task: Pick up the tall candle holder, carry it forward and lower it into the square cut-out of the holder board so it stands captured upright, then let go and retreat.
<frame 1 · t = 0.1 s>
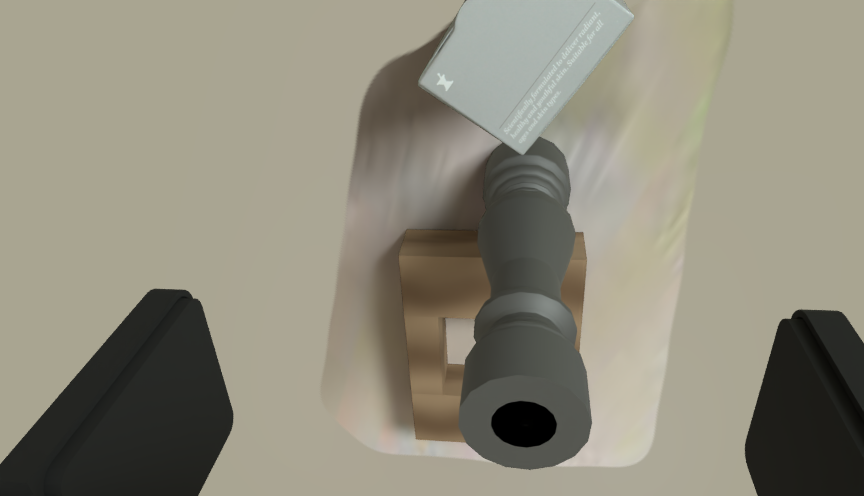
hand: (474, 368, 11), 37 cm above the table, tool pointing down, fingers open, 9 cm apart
candle holder: (526, 172, 49), on the table
holder board: (493, 329, 57), on the table
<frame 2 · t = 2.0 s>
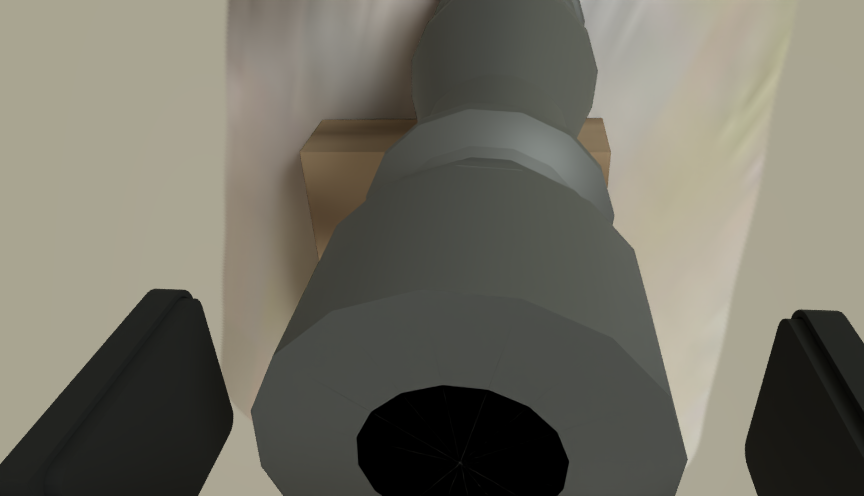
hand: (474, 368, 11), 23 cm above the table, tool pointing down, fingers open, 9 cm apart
candle holder: (509, 12, 30), on the table
holder board: (464, 282, 38), on the table
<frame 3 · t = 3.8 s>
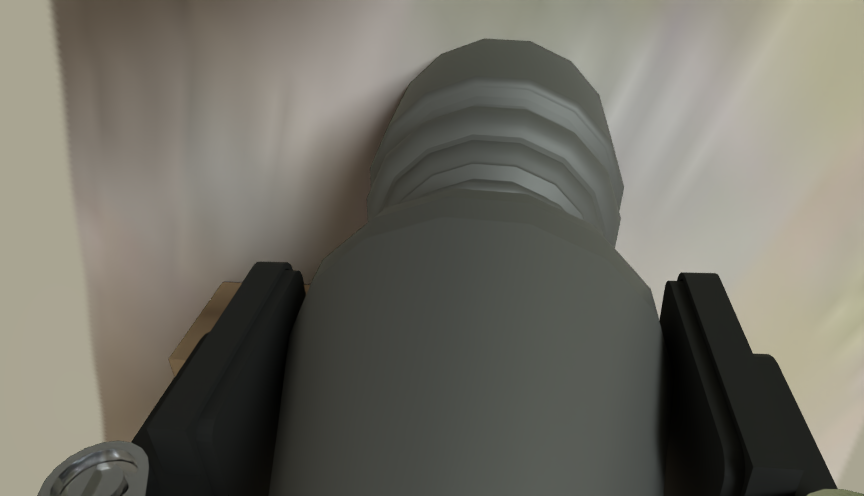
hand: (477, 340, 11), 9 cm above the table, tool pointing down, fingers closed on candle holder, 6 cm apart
candle holder: (498, 145, 19), on the table, touching gripper
holder board: (437, 487, 27), on the table
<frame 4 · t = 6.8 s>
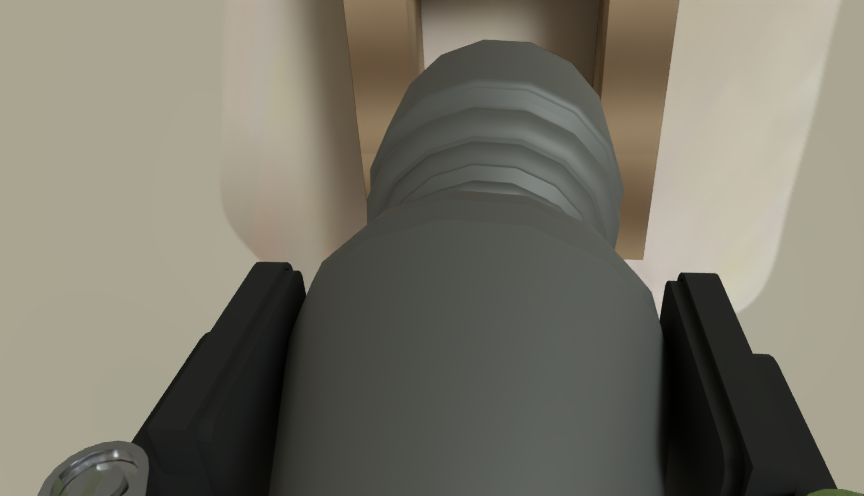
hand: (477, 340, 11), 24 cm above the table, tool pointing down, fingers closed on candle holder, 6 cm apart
candle holder: (498, 146, 19), point 15 cm above the table, touching gripper
holder board: (508, 41, 32), on the table
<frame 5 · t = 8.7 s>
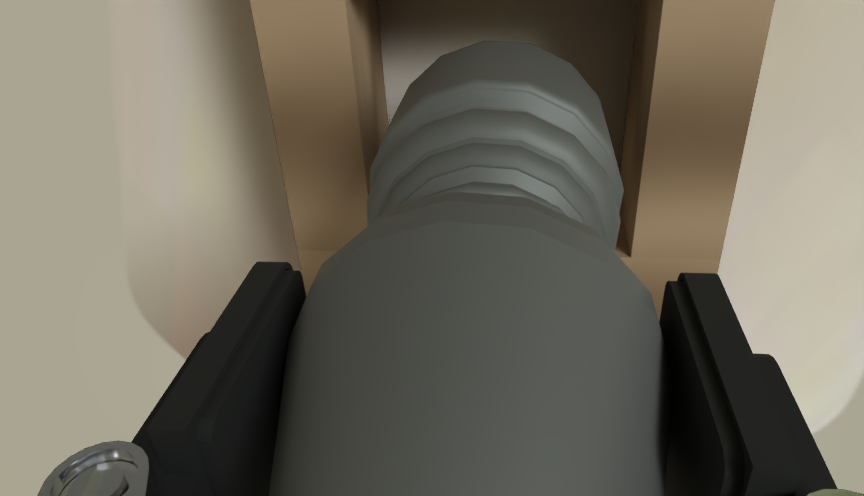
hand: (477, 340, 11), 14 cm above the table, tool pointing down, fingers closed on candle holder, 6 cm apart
candle holder: (498, 147, 19), point 5 cm above the table, touching gripper
holder board: (503, 91, 23), on the table
when the fingers open (10 cm above the table, at t = 10.0 s): candle holder drops 1 cm, resting in holder board.
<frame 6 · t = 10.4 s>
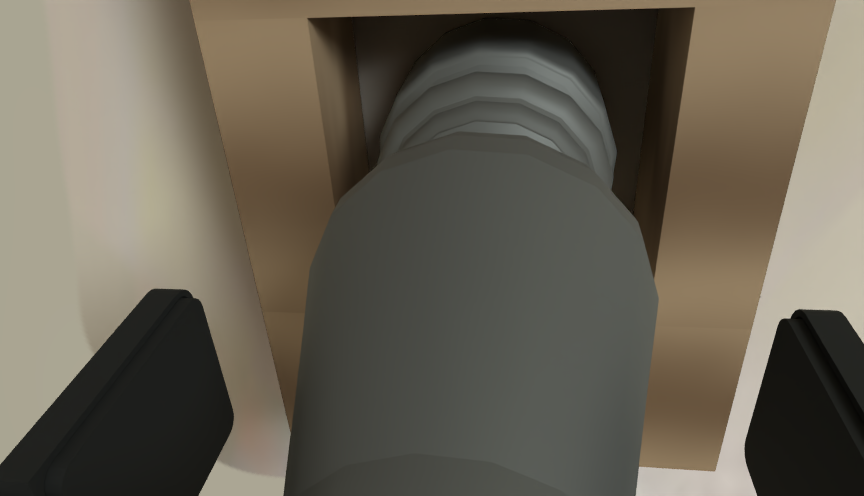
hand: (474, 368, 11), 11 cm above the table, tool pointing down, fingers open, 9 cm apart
candle holder: (499, 120, 20), resting in holder board
holder board: (500, 129, 20), on the table
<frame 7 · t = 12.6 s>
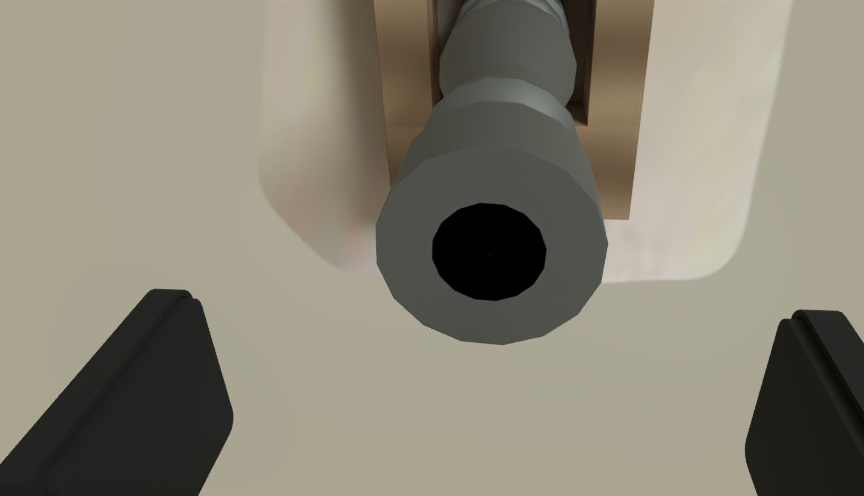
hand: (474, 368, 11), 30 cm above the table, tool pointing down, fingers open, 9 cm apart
candle holder: (511, 26, 37), resting in holder board
holder board: (511, 31, 37), on the table
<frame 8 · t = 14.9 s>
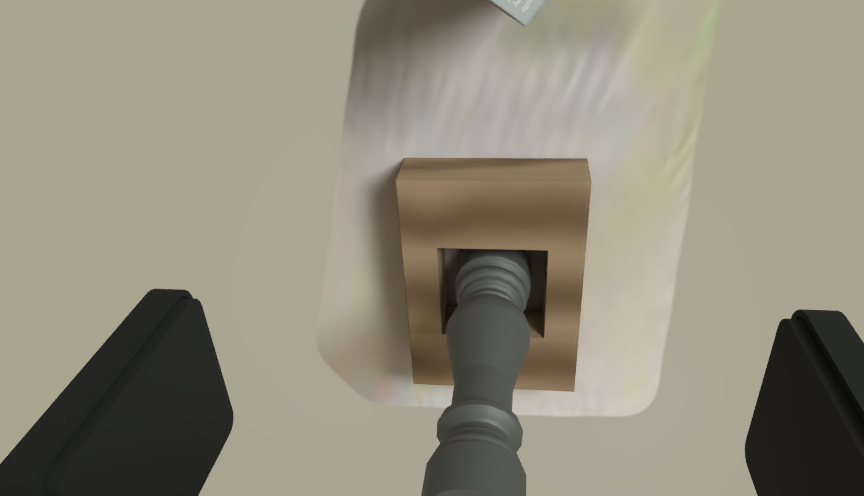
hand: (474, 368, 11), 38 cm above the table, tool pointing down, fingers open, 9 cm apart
candle holder: (494, 263, 55), resting in holder board
holder board: (494, 267, 55), on the table
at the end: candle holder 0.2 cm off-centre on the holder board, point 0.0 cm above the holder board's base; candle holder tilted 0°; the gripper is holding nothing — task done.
